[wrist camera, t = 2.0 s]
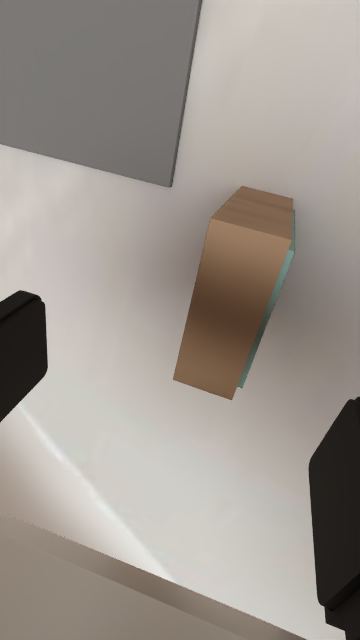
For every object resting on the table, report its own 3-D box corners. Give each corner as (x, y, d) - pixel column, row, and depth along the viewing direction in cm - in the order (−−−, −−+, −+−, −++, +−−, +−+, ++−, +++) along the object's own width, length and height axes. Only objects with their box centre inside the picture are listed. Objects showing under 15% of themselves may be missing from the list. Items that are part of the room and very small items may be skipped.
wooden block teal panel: (255, 316, 23) (237, 402, 16) (210, 302, 24) (172, 379, 16) (297, 199, 19) (299, 242, 12) (242, 186, 20) (210, 218, 12)
